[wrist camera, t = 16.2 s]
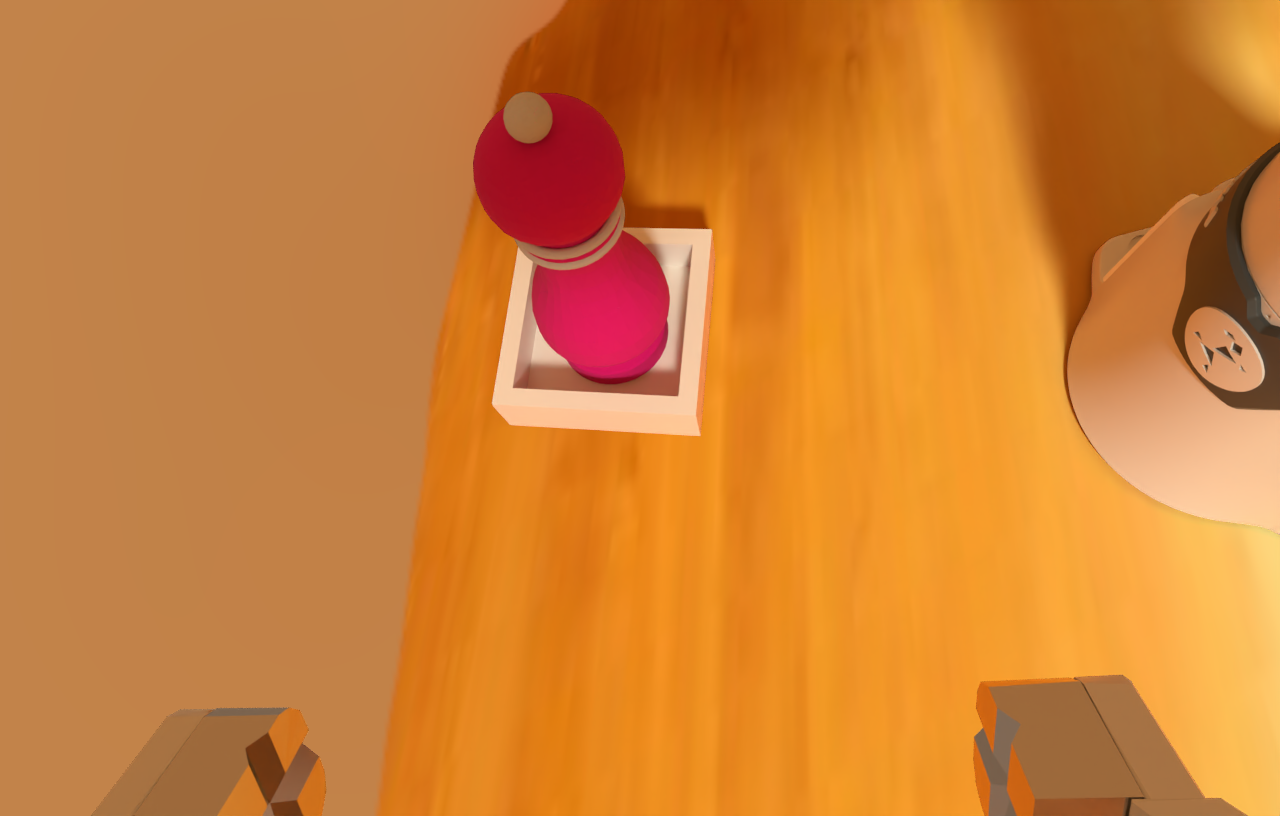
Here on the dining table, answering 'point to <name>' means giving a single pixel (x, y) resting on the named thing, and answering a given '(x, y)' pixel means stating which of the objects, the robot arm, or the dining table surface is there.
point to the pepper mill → (574, 234)
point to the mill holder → (653, 403)
